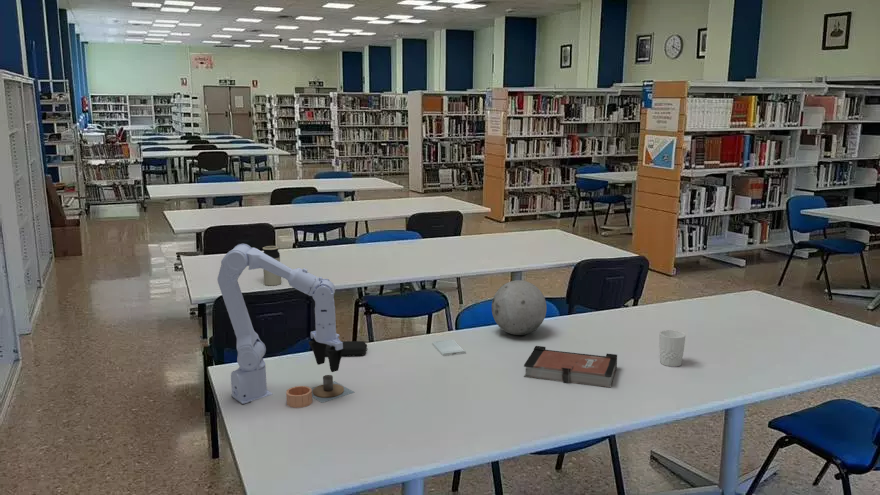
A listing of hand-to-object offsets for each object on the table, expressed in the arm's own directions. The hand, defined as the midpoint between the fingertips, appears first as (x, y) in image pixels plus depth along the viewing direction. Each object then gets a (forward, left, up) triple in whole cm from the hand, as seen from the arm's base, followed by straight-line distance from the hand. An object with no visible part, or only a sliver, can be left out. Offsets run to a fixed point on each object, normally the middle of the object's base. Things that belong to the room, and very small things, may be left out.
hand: (327, 367), depth 196 cm
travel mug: (+48, +130, -8) cm, 139 cm away
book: (+65, -37, -9) cm, 75 cm away
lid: (0, 0, -8) cm, 8 cm away
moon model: (+81, 0, -8) cm, 82 cm away
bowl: (-10, -1, -8) cm, 13 cm away
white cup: (+96, -53, -8) cm, 110 cm away
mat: (0, 0, -8) cm, 8 cm away
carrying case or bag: (+23, +27, -9) cm, 36 cm away
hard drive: (+51, +5, -9) cm, 52 cm away
